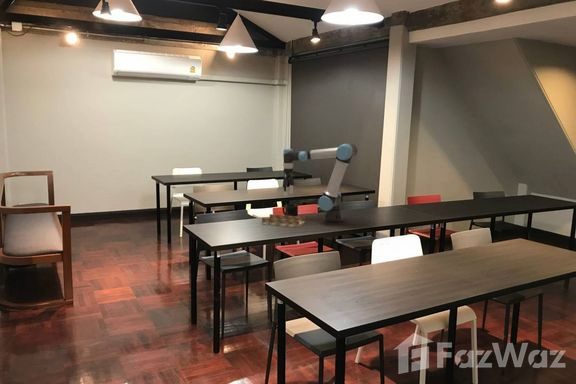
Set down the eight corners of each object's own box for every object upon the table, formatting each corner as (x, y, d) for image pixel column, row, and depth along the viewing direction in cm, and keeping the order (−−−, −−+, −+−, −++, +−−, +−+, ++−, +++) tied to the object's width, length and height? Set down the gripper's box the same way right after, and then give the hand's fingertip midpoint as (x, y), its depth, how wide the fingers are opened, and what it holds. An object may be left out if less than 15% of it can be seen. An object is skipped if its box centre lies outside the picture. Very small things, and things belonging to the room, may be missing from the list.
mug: (293, 221, 372) (293, 206, 370) (278, 219, 381) (278, 204, 379) (301, 219, 381) (301, 204, 379) (286, 217, 389) (286, 203, 388)
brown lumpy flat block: (305, 223, 365) (305, 217, 365) (298, 227, 350) (298, 220, 350) (270, 220, 376) (270, 214, 375) (262, 224, 361) (262, 217, 361)
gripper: (289, 166, 388) (289, 192, 391) (278, 169, 365) (278, 196, 367) (297, 167, 385) (298, 192, 388) (287, 169, 362) (287, 196, 365)
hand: (288, 194), depth 378 cm, fingers open, 13 cm apart
